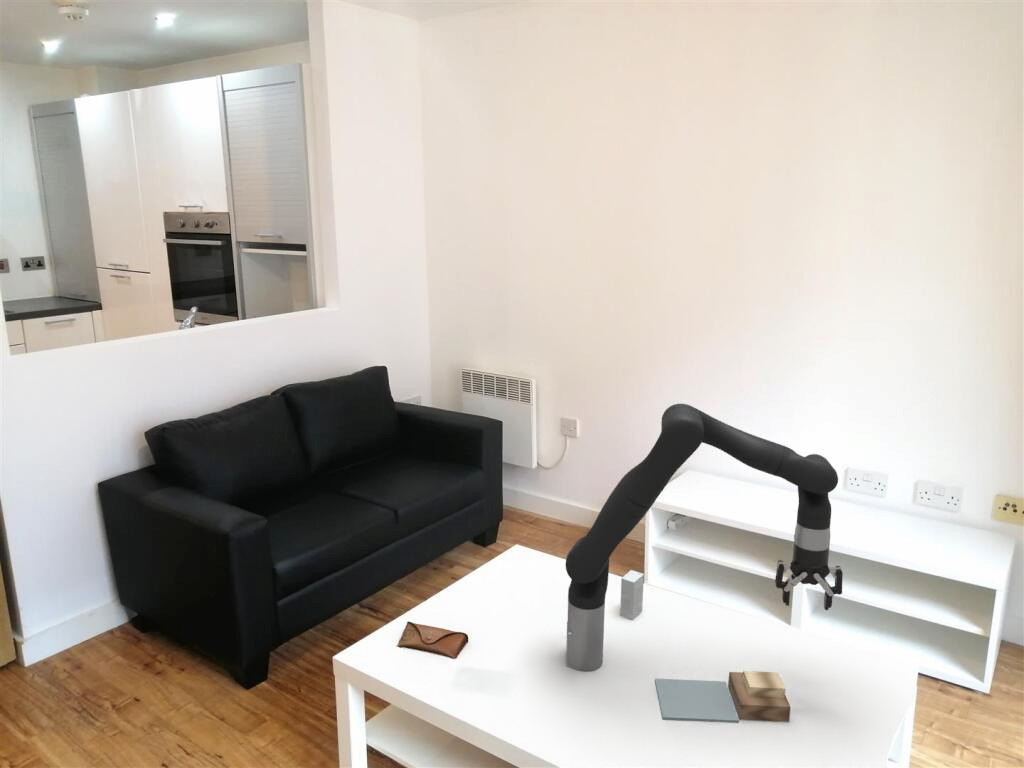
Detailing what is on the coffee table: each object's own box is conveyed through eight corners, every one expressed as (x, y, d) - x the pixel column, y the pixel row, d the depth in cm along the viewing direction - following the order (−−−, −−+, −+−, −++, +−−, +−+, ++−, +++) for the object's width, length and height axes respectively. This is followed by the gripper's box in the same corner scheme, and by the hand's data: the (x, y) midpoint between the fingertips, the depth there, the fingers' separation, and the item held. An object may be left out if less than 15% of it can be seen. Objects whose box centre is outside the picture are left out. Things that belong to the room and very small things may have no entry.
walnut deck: (739, 719, 170) (741, 704, 169) (728, 686, 182) (729, 671, 181) (788, 722, 170) (790, 706, 169) (774, 688, 181) (775, 673, 180)
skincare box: (629, 606, 217) (630, 569, 214) (642, 611, 214) (644, 573, 211) (619, 616, 212) (621, 577, 209) (632, 621, 210) (634, 582, 207)
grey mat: (662, 719, 170) (662, 717, 170) (654, 680, 184) (655, 678, 184) (738, 722, 169) (738, 720, 169) (725, 683, 183) (725, 681, 183)
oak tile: (749, 696, 172) (749, 687, 172) (742, 680, 178) (743, 670, 177) (784, 698, 172) (785, 688, 171) (777, 681, 177) (778, 672, 177)
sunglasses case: (393, 647, 197) (398, 620, 199) (403, 646, 203) (408, 620, 205) (457, 659, 192) (462, 632, 193) (466, 658, 198) (470, 632, 200)
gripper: (780, 546, 168) (775, 611, 172) (848, 552, 165) (842, 618, 169) (777, 532, 175) (772, 594, 179) (842, 537, 172) (836, 601, 176)
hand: (806, 606), depth 174 cm, fingers open, 8 cm apart
